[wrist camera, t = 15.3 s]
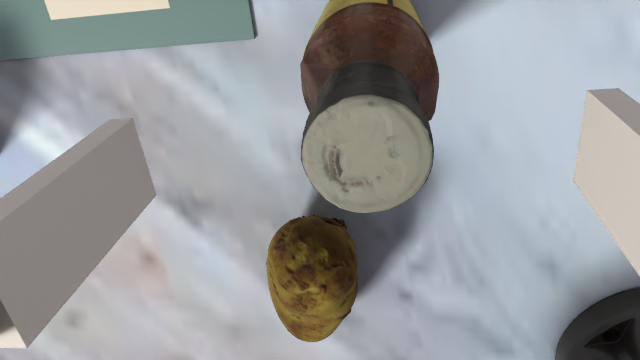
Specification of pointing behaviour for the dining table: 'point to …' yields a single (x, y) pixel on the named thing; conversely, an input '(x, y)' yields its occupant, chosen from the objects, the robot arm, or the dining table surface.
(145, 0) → the letter card
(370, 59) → the sauce bottle
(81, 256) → the robot arm
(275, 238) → the potato
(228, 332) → the dining table surface
